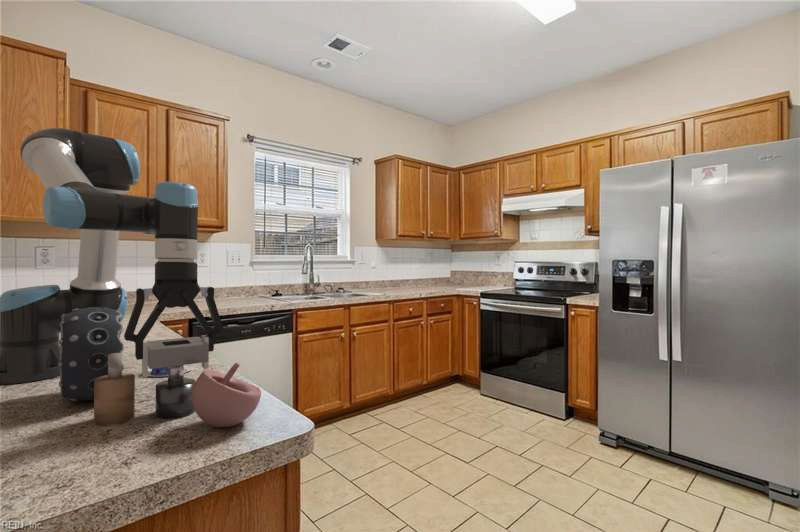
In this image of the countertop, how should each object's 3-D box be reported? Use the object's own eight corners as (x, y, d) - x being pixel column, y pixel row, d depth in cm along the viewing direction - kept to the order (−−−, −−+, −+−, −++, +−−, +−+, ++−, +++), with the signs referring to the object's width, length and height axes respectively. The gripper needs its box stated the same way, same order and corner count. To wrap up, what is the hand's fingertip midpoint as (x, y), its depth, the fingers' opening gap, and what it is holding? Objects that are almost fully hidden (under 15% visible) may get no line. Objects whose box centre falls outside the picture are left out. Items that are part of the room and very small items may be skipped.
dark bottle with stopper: (153, 411, 83) (153, 357, 83) (191, 404, 87) (192, 352, 87) (157, 422, 77) (157, 364, 77) (198, 414, 82) (198, 359, 81)
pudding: (138, 372, 113) (138, 353, 113) (185, 365, 121) (185, 347, 121) (147, 381, 104) (147, 361, 104) (198, 373, 112) (198, 354, 112)
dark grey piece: (57, 417, 79) (57, 314, 79) (63, 390, 95) (63, 305, 95) (124, 406, 86) (124, 311, 85) (119, 382, 102) (119, 302, 101)
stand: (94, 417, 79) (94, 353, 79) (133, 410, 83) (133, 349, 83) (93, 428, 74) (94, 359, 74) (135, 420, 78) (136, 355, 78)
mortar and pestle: (268, 429, 75) (268, 367, 75) (195, 444, 69) (195, 376, 68) (253, 408, 85) (253, 354, 85) (188, 420, 79) (189, 360, 79)
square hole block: (144, 358, 83) (144, 341, 83) (198, 352, 89) (198, 336, 89) (149, 369, 75) (149, 350, 75) (208, 361, 81) (208, 344, 81)
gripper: (107, 260, 72) (107, 385, 72) (240, 261, 86) (239, 367, 86) (107, 260, 78) (106, 375, 78) (230, 261, 92) (230, 360, 92)
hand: (176, 371), depth 82 cm, fingers closed on square hole block, 10 cm apart
